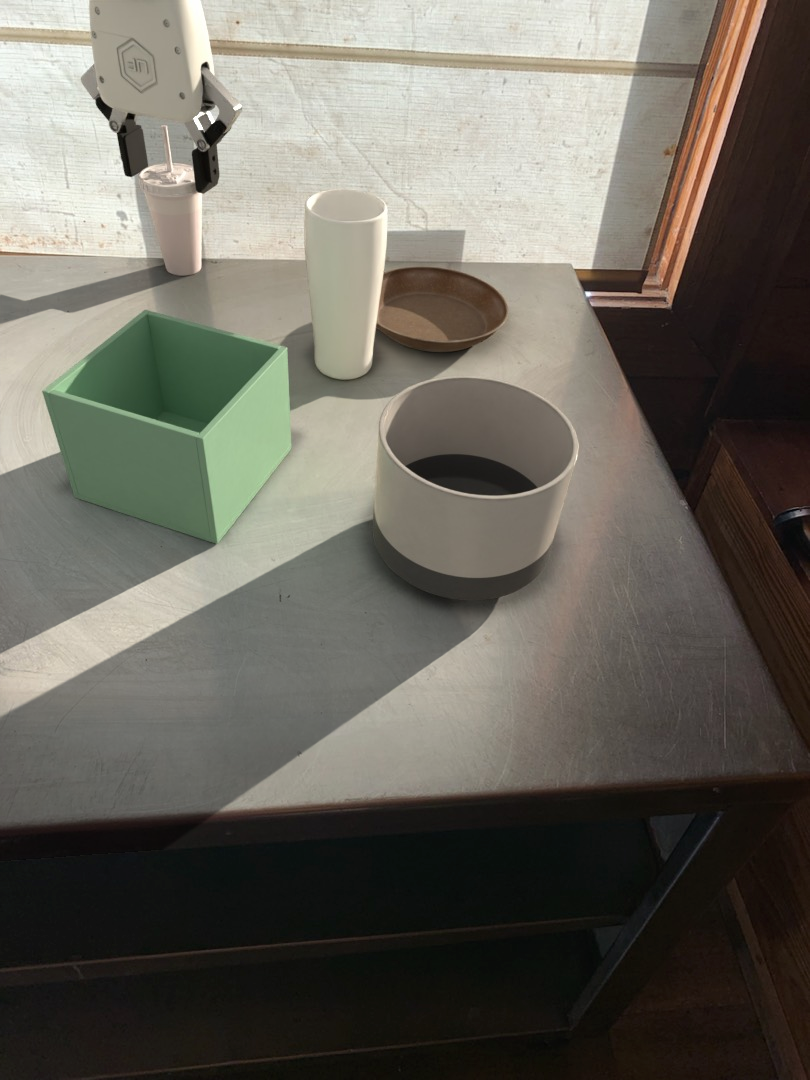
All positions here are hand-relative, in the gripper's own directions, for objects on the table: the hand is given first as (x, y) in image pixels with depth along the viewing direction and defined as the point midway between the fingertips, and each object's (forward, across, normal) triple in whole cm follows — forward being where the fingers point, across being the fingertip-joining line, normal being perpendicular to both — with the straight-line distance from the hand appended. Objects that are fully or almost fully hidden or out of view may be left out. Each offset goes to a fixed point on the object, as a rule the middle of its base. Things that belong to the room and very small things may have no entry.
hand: (171, 179), depth 78 cm
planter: (+9, +40, -28) cm, 50 cm away
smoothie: (+9, 0, 0) cm, 9 cm away
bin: (+9, +18, -29) cm, 35 cm away
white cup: (+9, +23, -10) cm, 27 cm away
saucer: (+9, +28, +1) cm, 30 cm away
